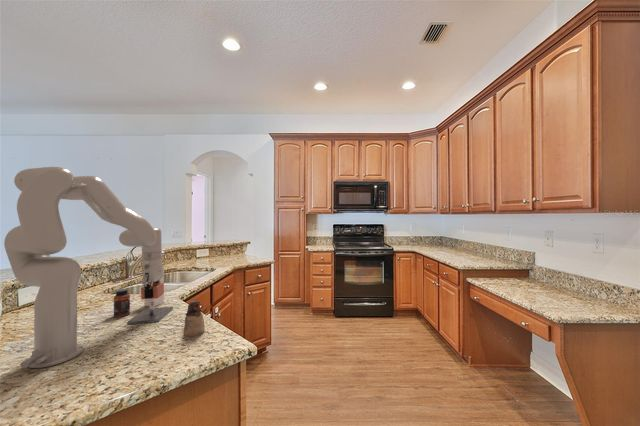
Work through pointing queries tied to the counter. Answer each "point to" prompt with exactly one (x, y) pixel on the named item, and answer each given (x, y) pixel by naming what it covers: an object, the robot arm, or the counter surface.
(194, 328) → the figurine
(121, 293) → the supplement bottle
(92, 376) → the counter surface
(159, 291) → the red hollow square block
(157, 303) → the milk
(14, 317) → the counter surface
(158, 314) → the plate
